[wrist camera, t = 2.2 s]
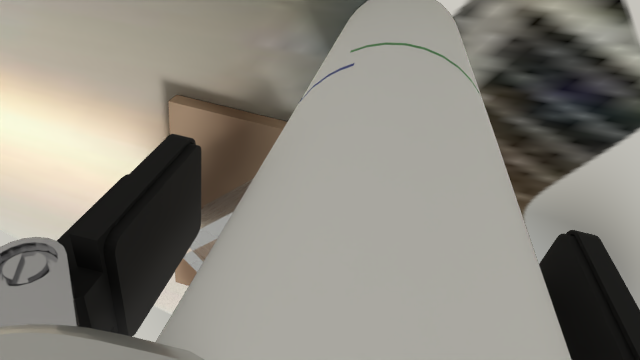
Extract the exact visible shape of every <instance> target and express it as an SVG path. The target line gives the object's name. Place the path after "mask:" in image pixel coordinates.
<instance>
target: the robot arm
mask: <svg viewBox="0 0 640 360" xmlns="http://www.w3.org/2000/svg"><path fill="white" fill-rule="evenodd" d="M200 227H201V147H200V146H199V145H196V142H195V140H194V139H193V138H189V137H185V136H181V135H177V134H170V135H169V136H168V137H167V138H166V139H165V140H164V141H163V142H162V143H161V144H160V145H159V146H158V147H157V148H156V149H155V150H154V151H153V152H152V153H151V154H150V155H149V156H148V157H147V158H146V159H144V160H143V161H142V162H141V163H140V164H139V165H138V166H137V167H136V168H135V169H134V170H133V171H132V172H131V173H130V174H128V175H125V176H124V177H122V178H121V179H120V180H119V181H118V182H117V183H116V184H115V185H114V186H113V187H112V188H111V189H110V190H109V191H108V192H107V193H106V194H105V195H104V196H103V197H102V198H100V199H99V200H98V201H97V202H96V203H95V204H94V205H93V206H92V207H91V208H90V209H89V210H88V211H87V212H86V213H85V214H84V215H83V216H82V217H81V218H80V219H79V220H78V221H77V222H76V223H75V224H74V225H73V226H72V227H71V228H70V229H69V230H68V231H66V232H65V233H64V234H63V235H62V236H61V237H60V238H59V239H58V240H57V241H55V240H52V239H49V238H41V237H32V238H24V239H20V240H16V241H13V242H10V243H8V244H6V245H4V246H2V247H0V360H204V359H203V358H201V357H199V356H197V355H196V354H194V353H192V352H191V351H188V350H184V349H180V348H176V347H172V346H168V345H164V344H160V343H155V342H151V341H147V340H143V339H139V338H135V337H132V336H133V335H134V334H135V333H136V332H137V330H138V329H139V327H140V326H141V324H142V323H143V321H144V319H145V318H146V316H147V315H148V313H149V311H150V309H151V308H152V307H153V305H154V304H155V302H156V300H157V299H158V297H159V296H160V294H161V292H162V291H163V289H164V288H165V286H166V284H167V283H168V281H169V280H170V278H171V277H172V275H173V273H174V272H175V270H176V269H177V267H178V265H179V264H180V262H181V261H182V259H183V258H184V256H185V254H186V253H187V251H188V250H189V248H190V246H191V245H192V243H193V242H194V240H195V239H196V237H197V235H198V233H199V231H200ZM539 266H540V269H541V272H542V275H543V278H544V281H545V284H546V287H547V289H548V292H549V295H550V298H551V301H552V304H553V307H554V310H555V313H556V316H557V319H558V322H559V324H560V327H561V330H562V333H563V336H564V339H565V342H566V345H567V348H568V351H569V354H570V357H571V360H640V310H639V308H638V306H637V305H636V303H635V301H634V299H633V297H632V296H631V294H630V292H629V290H628V288H627V287H626V285H625V283H624V281H623V279H622V278H621V276H620V274H619V272H618V270H617V269H616V267H615V265H614V263H613V262H612V260H611V258H610V256H609V254H608V252H607V251H606V249H605V247H604V245H603V243H602V242H601V240H600V239H599V237H598V236H595V235H592V234H588V233H583V232H579V231H575V230H570V231H569V232H567V233H566V234H561V235H559V236H558V237H557V239H556V240H555V242H554V243H553V244H552V246H551V247H550V249H549V250H548V252H547V254H546V255H545V256H544V258H543V259H542V261H541V262H540V264H539Z"/></svg>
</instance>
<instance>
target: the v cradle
mask: <svg viewBox="0 0 640 360" xmlns="http://www.w3.org/2000/svg"><path fill="white" fill-rule="evenodd" d="M168 105H169V130H170V134H177V135H181V136H185V137H189V138H193V139H194V140H195V142H196V145H199V146H200V147H201V227H200V231H199V233H198V235H197V237H196V239H195V240H194V242H193V243H192V245H191V246H190V248H189V250H188V251H187V253H186V254H185V256H184V258H183V259H182V261H181V262H180V264H179V265H178V267H177V269H176V270H175V278H176V282H178V283H181V284H185V285H190V284H191V282H192V280H193V279H194V277H195V275H196V274H197V272H198V270H199V269H200V267H201V265H202V264H203V262H204V260H205V259H206V257H207V255H208V254H209V252H210V250H211V249H212V247H213V245H214V244H215V242H216V240H217V238H218V237H219V235H220V233H221V232H222V230H223V228H224V227H225V225H226V223H227V222H228V220H229V218H230V217H231V215H232V213H233V212H234V210H235V208H236V207H237V205H238V204H239V202H240V200H241V199H242V197H243V195H244V194H245V192H246V190H247V189H248V187H249V185H250V184H251V182H252V180H253V179H254V177H255V175H256V174H257V172H258V170H259V169H260V167H261V165H262V164H263V162H264V160H265V159H266V157H267V155H268V154H269V152H270V150H271V149H272V147H273V145H274V144H275V142H276V140H277V139H278V137H279V135H280V134H281V132H282V130H283V129H284V127H285V125H286V124H287V122H286V121H282V120H278V119H274V118H270V117H266V116H262V115H258V114H254V113H250V112H245V111H241V110H237V109H233V108H229V107H225V106H221V105H217V104H213V103H209V102H204V101H200V100H196V99H192V98H188V97H184V96H180V95H176V96H175V97H173V98H172V99H171V100H169V101H168Z"/></svg>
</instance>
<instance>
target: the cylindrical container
mask: <svg viewBox="0 0 640 360" xmlns="http://www.w3.org/2000/svg"><path fill="white" fill-rule="evenodd" d="M155 343H160V344H164V345H168V346H172V347H176V348H180V349H184V350H188V351H191V352H192V353H194V354H196V355H197V356H199V357H201V358H203V359H204V360H571V357H570V354H569V351H568V348H567V345H566V342H565V339H564V336H563V333H562V330H561V327H560V324H559V322H558V319H557V316H556V313H555V310H554V307H553V304H552V301H551V298H550V295H549V292H548V289H547V287H546V284H545V281H544V278H543V275H542V272H541V269H540V266H539V263H538V260H537V257H536V254H535V252H534V249H533V246H532V243H531V240H530V237H529V234H528V231H527V228H526V225H525V222H524V219H523V216H522V214H521V211H520V208H519V205H518V202H517V199H516V196H515V193H514V190H513V187H512V184H511V181H510V178H509V176H508V173H507V170H506V167H505V164H504V161H503V158H502V155H501V152H500V149H499V146H498V143H497V140H496V138H495V135H494V132H493V129H492V126H491V123H490V120H489V117H488V114H487V111H486V109H485V105H484V103H483V100H482V97H481V94H480V91H479V88H478V85H477V82H476V79H475V76H474V73H473V71H472V68H471V65H470V62H469V59H468V56H467V53H466V50H465V47H464V44H463V41H462V39H461V36H460V33H459V30H458V27H457V25H456V22H455V21H454V19H453V17H452V16H451V14H450V13H449V12H448V11H447V10H446V8H445V7H444V6H443V5H442V4H440V3H439V2H437V1H436V0H368V1H367V2H365V3H364V4H363V5H362V6H360V7H359V8H358V9H357V10H356V11H355V13H354V14H353V15H352V16H351V17H350V18H349V20H348V22H347V23H346V25H345V27H344V28H343V30H342V32H341V33H340V35H339V37H338V38H337V40H336V42H335V43H334V45H333V47H332V48H331V50H330V52H329V53H328V55H327V57H326V58H325V60H324V62H323V63H322V65H321V67H320V68H319V70H318V72H317V73H316V75H315V77H314V79H313V80H312V82H311V84H310V85H309V87H308V89H307V90H306V92H305V94H304V95H303V97H302V99H301V100H300V102H299V104H298V105H297V107H296V109H295V110H294V112H293V114H292V115H291V117H290V119H289V120H288V122H287V124H286V125H285V127H284V129H283V130H282V132H281V134H280V135H279V137H278V139H277V140H276V142H275V144H274V145H273V147H272V149H271V150H270V152H269V154H268V155H267V157H266V159H265V160H264V162H263V164H262V165H261V167H260V169H259V170H258V172H257V174H256V175H255V177H254V179H253V180H252V182H251V184H250V185H249V187H248V189H247V190H246V192H245V194H244V195H243V197H242V199H241V200H240V202H239V204H238V205H237V207H236V208H235V210H234V212H233V213H232V215H231V217H230V218H229V220H228V222H227V223H226V225H225V227H224V228H223V230H222V232H221V233H220V235H219V237H218V238H217V240H216V242H215V244H214V245H213V247H212V249H211V250H210V252H209V254H208V255H207V257H206V259H205V260H204V262H203V264H202V265H201V267H200V269H199V270H198V272H197V274H196V275H195V277H194V279H193V280H192V282H191V284H190V285H189V287H188V289H187V290H186V292H185V294H184V295H183V297H182V299H181V300H180V302H179V304H178V305H177V307H176V309H175V310H174V312H173V314H172V315H171V317H170V319H169V321H168V322H167V324H166V325H165V327H164V329H163V330H162V332H161V334H160V335H159V337H158V339H157V341H156V342H155Z"/></svg>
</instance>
